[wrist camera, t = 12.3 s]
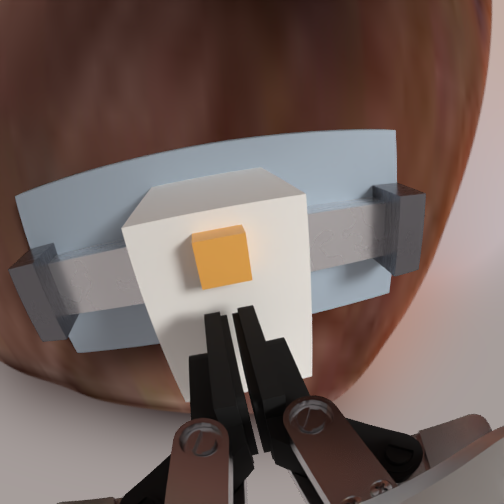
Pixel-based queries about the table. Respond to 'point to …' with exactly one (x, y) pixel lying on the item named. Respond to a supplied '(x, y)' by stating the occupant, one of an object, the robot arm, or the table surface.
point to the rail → (127, 289)
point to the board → (199, 165)
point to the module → (223, 262)
